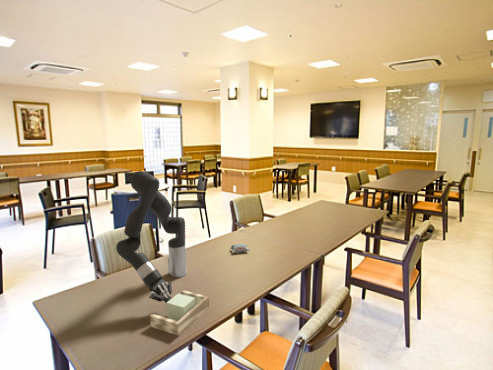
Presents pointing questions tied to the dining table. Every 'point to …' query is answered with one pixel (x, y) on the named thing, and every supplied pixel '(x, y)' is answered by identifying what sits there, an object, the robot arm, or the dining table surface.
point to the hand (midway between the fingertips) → (172, 305)
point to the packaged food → (239, 248)
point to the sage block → (179, 306)
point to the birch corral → (186, 320)
